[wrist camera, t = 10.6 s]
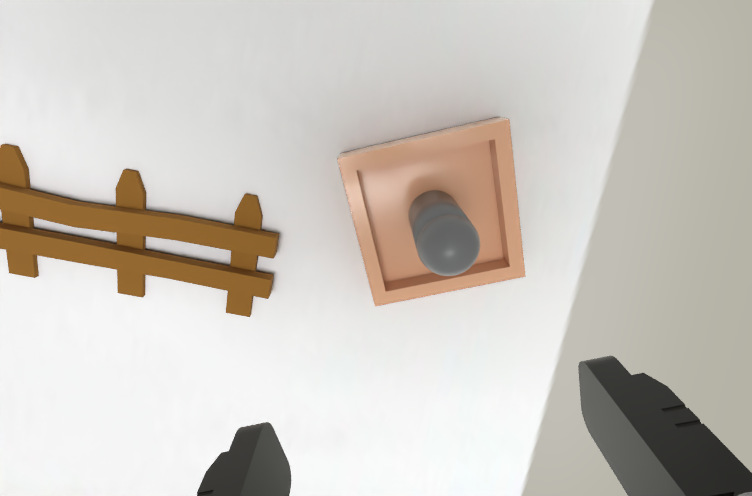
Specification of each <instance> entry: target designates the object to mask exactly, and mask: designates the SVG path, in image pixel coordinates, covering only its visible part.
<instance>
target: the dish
mask: <svg viewBox="0 0 752 496" xmlns="http://www.w3.org/2000/svg"><path fill="white" fill-rule="evenodd" d="M337 160H338V164H339V168H340V171H341V175H342V179H343V183H344V187H345V191H346V195H347V199H348V203H349V206H350V210H351V214H352V218H353V222H354V226H355V230H356V234H357V237H358V241H359V245H360V249H361V253H362V257H363V261H364V265H365V269H366V272H367V276H368V280H369V284H370V288H371V292H372V296H373V300H374V303H375V306H379V305H384V304H389V303H394V302H399V301H404V300H410V299H415V298H420V297H425V296H430V295H435V294H440V293H445V292H450V291H455V290H460V289H465V288H470V287H475V286H480V285H485V284H490V283H495V282H500V281H505V280H510V279H515V278H520V277H525V268H524V258H523V249H522V239H521V229H520V220H519V210H518V200H517V191H516V181H515V171H514V161H513V152H512V142H511V132H510V123H509V119H506V118H501V117H495V118H491V119H486V120H482V121H478V122H473V123H469V124H465V125H460V126H456V127H452V128H447V129H443V130H439V131H434V132H430V133H426V134H422V135H417V136H413V137H409V138H404V139H400V140H396V141H391V142H387V143H383V144H378V145H374V146H370V147H365V148H361V149H357V150H352V151H348V152H344V153H340V155H339V157H338V158H337ZM432 190H439V191H443V192H446V193H447V194H449V195H450V196H452V197H453V198H454V200H455V201H456V202H457V204H458V205H459V206H460V208H461V209H462V211H463V212H464V213H465V215H466V216H467V217H468V219H469V220H470V221H471V223H472V224H473V225H474V227H475V228H476V230H477V232H478V235H479V238H480V251H479V255H478V257H477V259H476V261H475V263H474V264H473V265H472V266H471V267H470V268H469V269H468V270H466V271H465V272H463V273H461V274H458V275H454V276H442V275H438V274H436V273H434V272H432V271H430V270H429V269H428V268H426V267H425V266H424V264H423V263H422V262H421V260H420V258H419V256H418V253H417V249H416V245H415V241H414V238H413V234H412V230H411V226H410V223H409V209H410V206H411V204H412V203H413V201H414V200H415V199H416V198H417V197H418V196H419V195H421V194H422V193H424V192H427V191H432Z"/></svg>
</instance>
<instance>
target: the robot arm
mask: <svg viewBox="0 0 752 496" xmlns="http://www.w3.org/2000/svg"><path fill="white" fill-rule="evenodd" d="M579 381H580V396H581V408H582V414H583V417H584V421H585V423H586V426H587V428H588V431H589V433H590V434H591V436H592V438H593V439H594V441H595V442H596V444H597V446H598V447H599V449H600V451H601V452H602V454H603V456H604V457H605V459H606V460H607V462H608V464H609V465H610V467H611V469H612V470H613V472H614V473H615V475H616V477H617V478H618V480H619V481H620V483H621V484H622V486H623V488H624V490H625V491H626V493H627V494H628V496H752V473H751V472H750V471H749V470H748V469H747V468H746V467H745V466H744V465H743V464H742V463H741V462H740V461H739V460H738V459H737V458H736V457H735V456H734V455H733V454H732V452H730V450H728V448H727V447H726V446H725V445H724V444H723V443H722V442H721V441H720V440H719V439H718V438H717V437H716V436H715V435H714V434H713V433H712V432H711V431H710V430H709V429H708V428H707V427H706V426H705V425H704V424H701V422H700V420H699V419H698V417H697V416H695V414H694V413H693V412H692V411H691V410H690V409H689V408H686V407H685V404H684V403H683V402H682V401H681V400H680V399H679V398H678V397H677V396H676V395H675V394H674V393H673V392H672V391H671V390H670V389H669V388H668V387H667V386H666V385H664V384H662V383H660V382H659V381H657V380H655V379H653V378H652V377H650V376H648V375H646V374H645V373H641V374H635V375H631V374H630V373H629V372H628V371H627V370H626V369H625V368H624V367H623V365H622V364H621V363H620V362H619V361H618V360H617V359H616V358H615V357H613V356H607V357H602V358H597V359H591V360H586V361H581V362H580V363H579ZM290 488H291V471H290V466H289V463H288V460H287V458H286V456H285V453H284V451H283V449H282V447H281V444H280V442H279V440H278V438H277V435H276V433H275V431H274V429H273V427H272V425H271V424H270V423H268V422H266V423H261V424H256V425H251V426H246V427H241V428H239V429H238V431H237V432H236V434H235V437H234V439H233V442H232V445H231V447H230V450H229V451H228V452H223V453H221V454H220V455H219V456H218V458H217V459H216V460H215V461H214V463H213V464H212V465H211V466H210V468H209V469H208V470H207V471H206V473H205V476H204V478H203V480H202V483H201V485H200V487H199V490H198V492H197V496H289V493H290Z"/></svg>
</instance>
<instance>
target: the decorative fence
mask: <svg viewBox="0 0 752 496" xmlns="http://www.w3.org/2000/svg"><path fill="white" fill-rule="evenodd" d="M0 209H1V212H2V220H3V223H2V222H0V249H6V251H7V259H8V267H9V273H12V274H17V275H23V276H28V277H34V278H35V277H37V276H39V275H38V264H37V255H39V256H44V257H50V258H55V259H61V260H66V261H72V262H77V263H83V264H89V265H95V266H100V267H106V268H112V269H117V276H118V293H121V294H127V295H132V296H138V297H143V296H145V274H146V275H152V276H157V277H163V278H169V279H174V280H179V281H183V282H188V283H193V284H198V285H203V286H208V287H213V288H218V289H222V290H227V291H228V295H227V306H226V313H231V314H236V315H242V316H247V317H250V315H251V309H252V301H253V296H257V297H261V298H266V299H268V298H269V296H270V294H271V289H272V282H273V275H272V274H267V273H261V272H256V267H257V259H258V256H263V257H268V258H274V257H275V255H276V252H277V245H278V238H279V234H277V233H272V232H267V231H262V230H261V225H262V212H261V208H260V204H259V200H258V196H256V195H251V194H247V193H246V194H245V195H244V197H243V198H242V200H241V202H240V204H239V206H238V208H237V210H236V212H235V219H234V225H230V224H225V223H220V222H215V221H209V220H204V219H199V218H194V217H189V216H183V215H177V214H170V213H162V212H155V211H147V210H146V191H145V188H144V185H143V183H142V180H141V177H140V174H139V171H135V170H130V169H125V170H123V172H122V174H121V177H120V179H119V182H118V184H117V187H116V206H109V205H102V204H94V203H86V202H80V201H75V200H71V199H67V198H63V197H59V196H55V195H51V194H47V193H43V192H39V191H35V190H31V189H30V179H29V169H28V166H27V164H26V162H25V160H24V157H23V155H22V153H21V151H20V149H19V147H18V146H14V145H9V144H3V145H1V147H0ZM33 217H34V218H39V219H43V220H47V221H51V222H55V223H60V224H64V225H68V226H72V227H78V228H86V229H94V230H101V231H109V232H117V244H113V243H108V242H103V241H97V240H92V239H87V238H82V237H77V236H71V235H66V234H61V233H55V232H50V231H45V230H39V229H34V221H33ZM146 236H148V237H156V238H163V239H171V240H178V241H183V242H188V243H194V244H199V245H204V246H210V247H215V248H220V249H226V250H231V262H230V266H225V265H220V264H215V263H210V262H205V261H200V260H195V259H190V258H184V257H179V256H174V255H169V254H164V253H159V252H154V251H149V250H145V240H146Z"/></svg>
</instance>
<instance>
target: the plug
mask: <svg viewBox="0 0 752 496" xmlns="http://www.w3.org/2000/svg"><path fill="white" fill-rule="evenodd" d="M409 223H410V226H411V230H412V234H413V238H414V241H415V245H416V249H417V253H418V256H419V258H420V260H421V262H422V263H423V264H424V266H425V267H426V268H428V269H429V270H430V271H432V272H434V273H436V274H438V275H442V276H454V275H458V274H461V273H463V272H465V271H466V270H468V269H469V268H470V267H471V266H472V265H473V264H474V263H475V261H476V259H477V257H478V255H479V251H480V238H479V235H478V232H477V230H476V228H475V227H474V225H473V224H472V223H471V221H470V220H469V219H468V217H467V216H466V215H465V213H464V212H463V211H462V209H461V208H460V206H459V205H458V204H457V202H456V201H455V200H454V198H453V197H452V196H450V195H449V194H447V193H446V192H443V191H439V190H432V191H427V192H424V193H422V194H421V195H419V196H418V197H417V198H416V199H415V200H414V201H413V203H412V204H411V206H410V209H409Z"/></svg>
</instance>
